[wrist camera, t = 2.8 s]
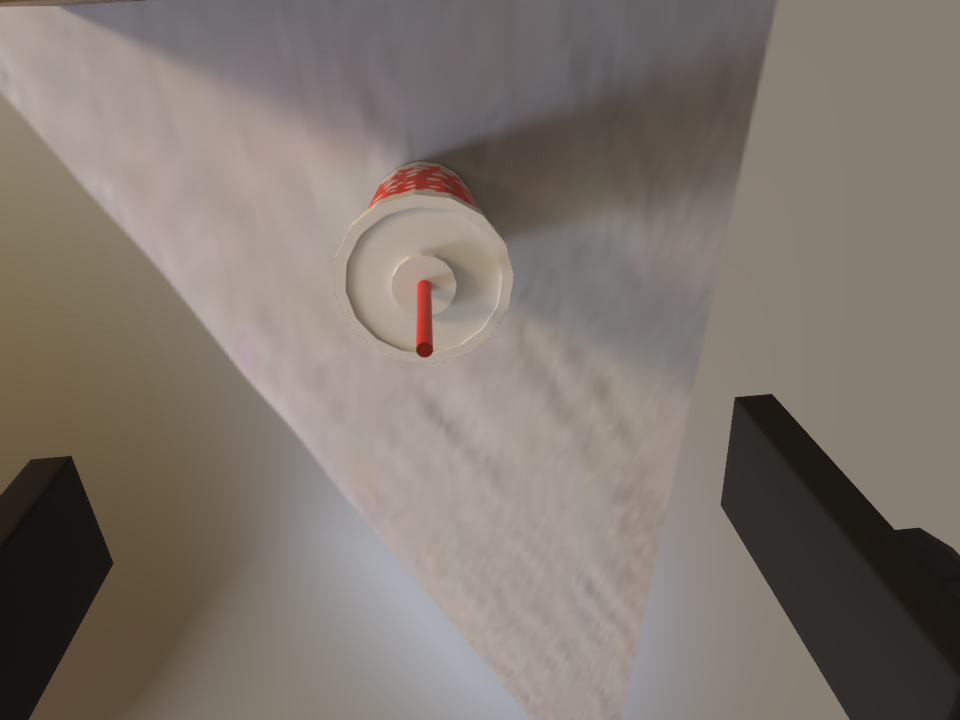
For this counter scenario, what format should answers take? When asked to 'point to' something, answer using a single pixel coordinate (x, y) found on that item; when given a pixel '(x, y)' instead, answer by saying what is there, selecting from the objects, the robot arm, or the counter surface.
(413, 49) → the counter surface
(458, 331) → the beverage cup
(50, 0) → the brown open-topped box
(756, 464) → the robot arm
